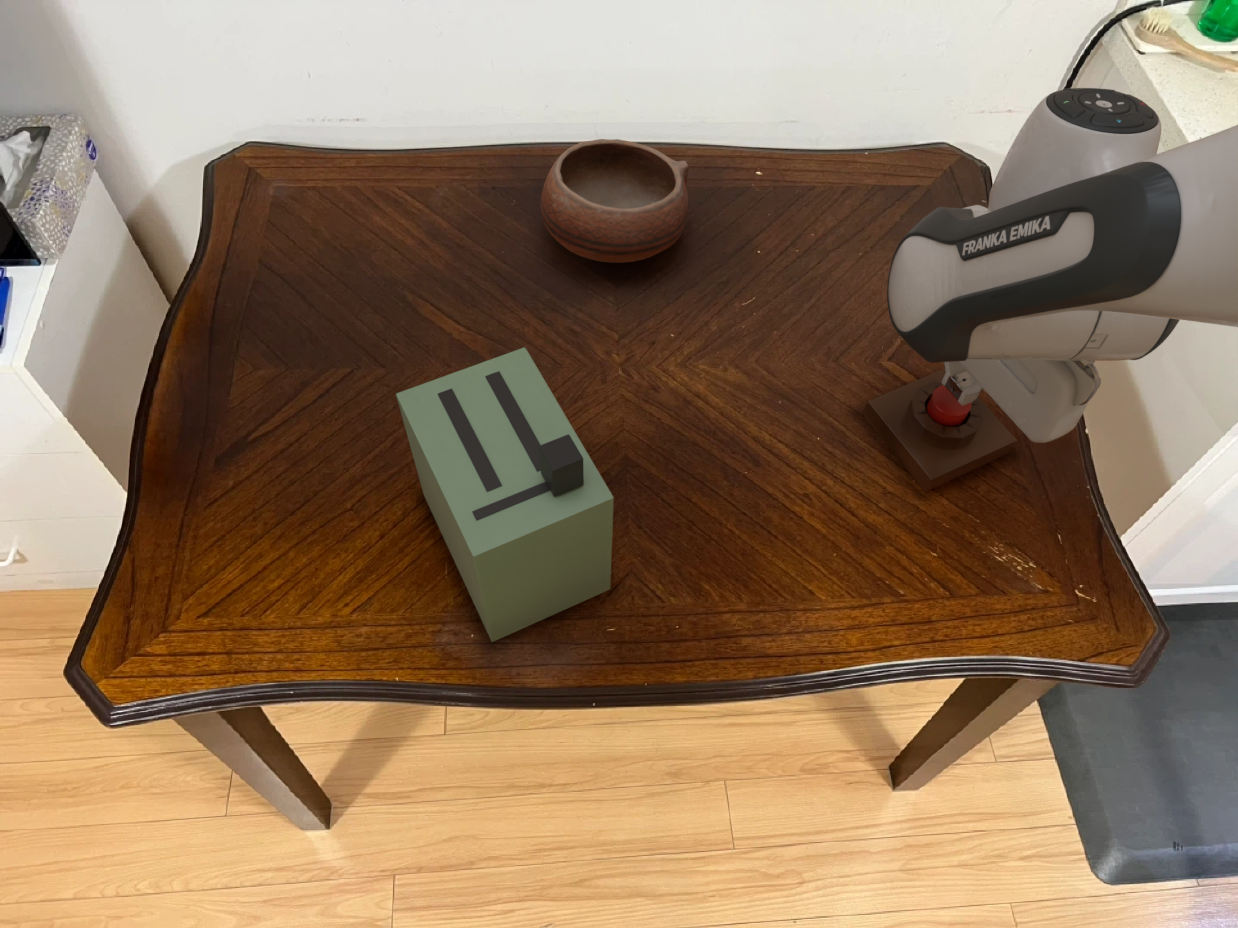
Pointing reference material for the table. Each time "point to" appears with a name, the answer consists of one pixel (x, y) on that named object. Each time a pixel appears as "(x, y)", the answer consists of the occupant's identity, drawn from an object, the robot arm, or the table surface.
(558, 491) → the toaster slider
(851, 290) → the table surface
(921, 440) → the control block
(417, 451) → the toaster
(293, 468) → the table surface
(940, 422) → the button
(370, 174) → the table surface
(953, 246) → the robot arm
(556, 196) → the bowl
